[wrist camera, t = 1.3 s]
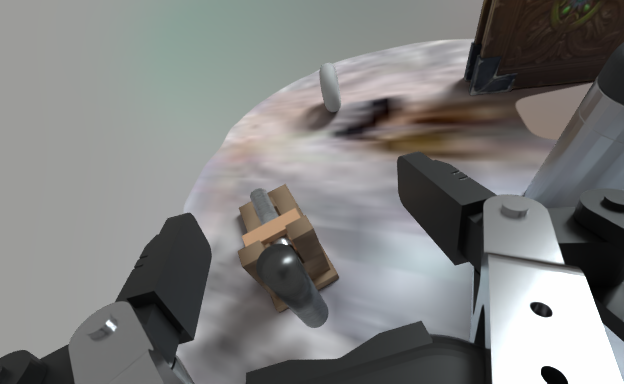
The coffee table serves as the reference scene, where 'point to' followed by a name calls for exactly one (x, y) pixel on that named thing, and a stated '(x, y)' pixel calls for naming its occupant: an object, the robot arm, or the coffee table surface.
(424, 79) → the coffee table surface
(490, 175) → the coffee table surface
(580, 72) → the decorative book
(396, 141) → the coffee table surface
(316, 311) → the grey piece
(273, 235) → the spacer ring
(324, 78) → the donut
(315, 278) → the shaft stand
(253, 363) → the coffee table surface
